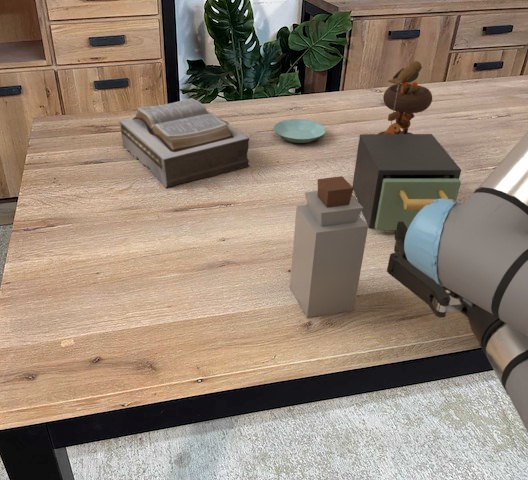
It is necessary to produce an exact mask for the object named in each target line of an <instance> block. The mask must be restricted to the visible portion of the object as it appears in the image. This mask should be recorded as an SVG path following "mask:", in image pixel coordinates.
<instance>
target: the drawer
mask: <svg viewBox="0 0 528 480" xmlns="http://www.w3.org/2000/svg"><path fill="white" fill-rule="evenodd" d="M449 177H450V176H449V175H383V181H382V186H381V192H380V198H379V203H378V209H377V215H376V222H375V228H374V229H375V231H396V229H397V224H398V222H404V223H405V225H406V227H407V229H408V228H409V226H410V224H411V222H412V221H413V219H414V217H415V216H416V215H417V214H418V212H419V211H420V210H421V209H422V208H423V207H425V206H426V205H430V204H431V203H432V202H433V201H434V200H437V199H442V198H445V199H449V200H451V201H457V198H458V196H459V195H458V194H459V192H460V187H461V184H462V181H461V180H460V178H459V179H449Z"/></svg>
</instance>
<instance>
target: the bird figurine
mask: <svg viewBox="0 0 528 480" xmlns="http://www.w3.org/2000/svg"><path fill="white" fill-rule="evenodd" d="M422 68H423V67H422V64H421V62H420V61H417V60H414V61H412V62H410V63H409V65H408V66H406V67H403V68H401V69H399V70H398V71H397V72H395V74H394V76H392V79H389V80H388V83H391V84H393V85H390V86H389V87H387V88H386V90H385V91H384V93H383V98H382V99H383V104H384V105H385V107H387V108H388V109H389V110H390V111H392V112H390V113H389V114H388V116H387V121H388V122H390V125H389V126H388V128H387V129H386V130H384V131H380V132H378V133H377V134H413V132H408V131H409V128H410V127H411V123H412V122H411V121H412V119H414V118H415V114H419V113H422V112H424V111H426V110H428V108H429V107H430V106H431V105H432V102H433V94H432V92H431V90H430V89H429V88H427V87H425V86H422V85H419V84H418V81H416V80H417V79H418V78H419V75H420V72H421V71H422ZM393 121H395V122H393Z"/></svg>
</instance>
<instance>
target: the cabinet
mask: <svg viewBox="0 0 528 480" xmlns="http://www.w3.org/2000/svg"><path fill="white" fill-rule="evenodd" d="M461 174H462V169H461V168H460V167H459V165H458V164H457V163H456V161H455V160H454V159H453V158H452V156H451V155H450V154H449V153H448V152H447V150H446V149H445V148H444V147H443V146H442V145H441V143H440V142H439V141H438V140H437V139H436V137H435V136H434V135H433V134H432V133H412V134H378V133H367V134H365V133H364V134H363V133H360V134H359V138H358V145H357V151H356V159H355V165H354V172H353V180H352V185H351V186H352V187H353V193H354V195H355V197H356V198H355V199H356V200H357V201H358V202H359V204H360V205H361V206H362V207H363V209H362V211H361V213H362V216H363V217H364V221H365V222H366V224H367V225H368V229H376V228H375V222H376V215H377V209H378V203H379V198H380V192H381V186H382V181H383V175H449V176H450V177H449V179H459V180H460V177H461Z"/></svg>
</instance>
